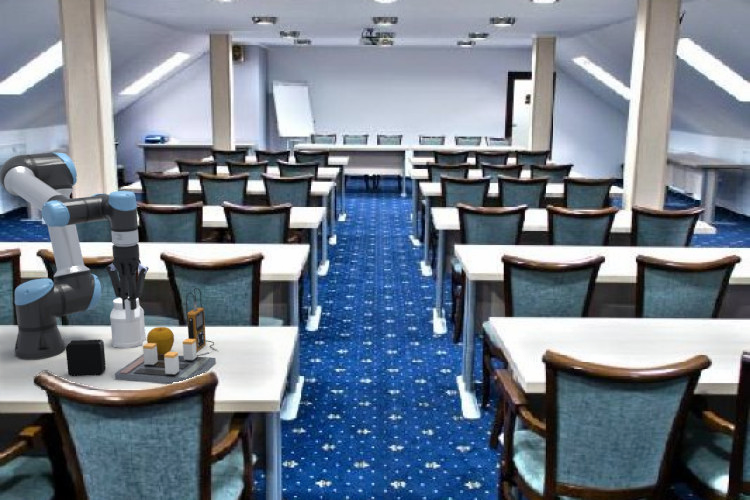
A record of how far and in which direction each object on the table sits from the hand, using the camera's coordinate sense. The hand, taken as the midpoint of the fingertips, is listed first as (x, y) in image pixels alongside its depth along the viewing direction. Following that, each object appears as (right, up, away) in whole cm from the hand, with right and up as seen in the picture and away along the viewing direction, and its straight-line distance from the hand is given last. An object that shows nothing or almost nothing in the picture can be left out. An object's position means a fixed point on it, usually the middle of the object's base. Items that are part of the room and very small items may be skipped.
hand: (130, 319), depth 231 cm
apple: (+5, -13, +16) cm, 21 cm away
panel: (+11, -16, +1) cm, 19 cm away
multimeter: (+19, -12, +20) cm, 30 cm away
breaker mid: (+6, -13, +1) cm, 15 cm away
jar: (-9, -10, +27) cm, 30 cm away
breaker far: (+17, -12, +5) cm, 22 cm away
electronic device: (-13, -16, -1) cm, 21 cm away
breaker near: (+15, -15, -7) cm, 22 cm away
